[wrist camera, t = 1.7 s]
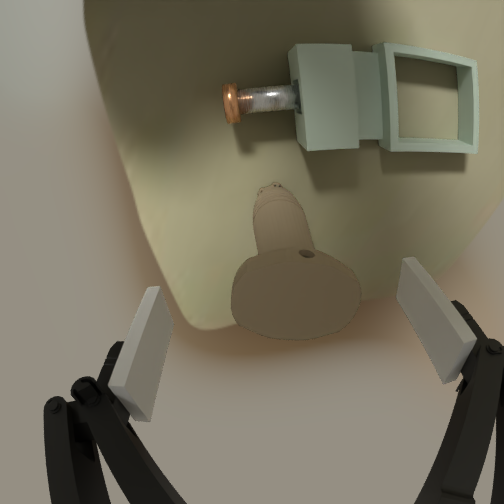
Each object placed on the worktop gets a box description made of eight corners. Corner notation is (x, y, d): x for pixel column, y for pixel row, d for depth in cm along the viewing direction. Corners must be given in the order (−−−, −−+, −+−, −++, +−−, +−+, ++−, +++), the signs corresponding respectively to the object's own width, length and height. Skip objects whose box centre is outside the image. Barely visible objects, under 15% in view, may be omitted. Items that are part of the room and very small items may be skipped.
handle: (242, 168, 26) (236, 255, 13) (312, 178, 26) (373, 269, 13) (235, 217, 28) (226, 334, 15) (302, 226, 29) (343, 341, 16)
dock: (286, 44, 20) (294, 33, 16) (461, 60, 19) (490, 61, 15) (297, 149, 25) (308, 161, 21) (462, 147, 24) (490, 159, 20)
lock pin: (224, 85, 21) (220, 83, 19) (310, 77, 21) (319, 75, 18) (229, 122, 23) (226, 125, 20) (313, 113, 23) (323, 116, 20)
